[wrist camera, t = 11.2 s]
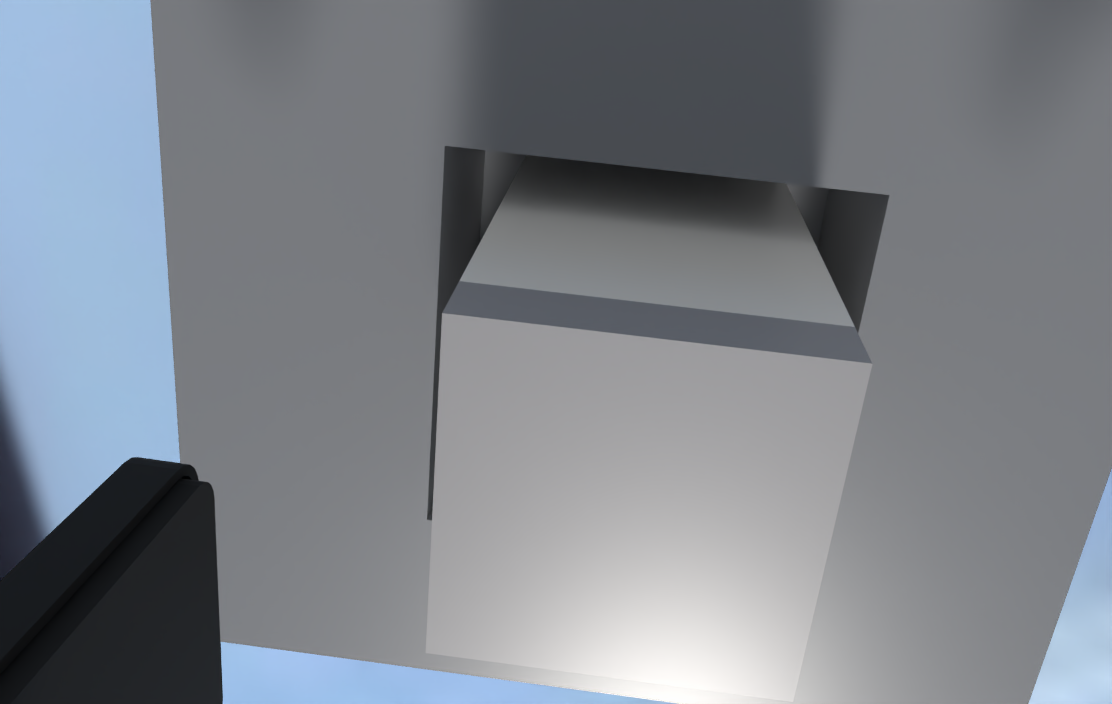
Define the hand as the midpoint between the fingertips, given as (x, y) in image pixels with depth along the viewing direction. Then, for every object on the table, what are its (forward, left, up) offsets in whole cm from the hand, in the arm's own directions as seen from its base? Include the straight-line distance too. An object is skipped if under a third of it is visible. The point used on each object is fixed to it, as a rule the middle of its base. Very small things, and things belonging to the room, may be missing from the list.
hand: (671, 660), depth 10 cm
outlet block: (0, 0, -11) cm, 11 cm away
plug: (+1, 0, -10) cm, 10 cm away
